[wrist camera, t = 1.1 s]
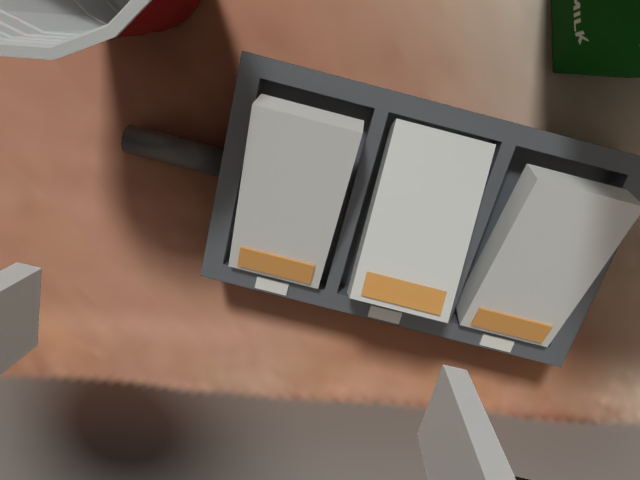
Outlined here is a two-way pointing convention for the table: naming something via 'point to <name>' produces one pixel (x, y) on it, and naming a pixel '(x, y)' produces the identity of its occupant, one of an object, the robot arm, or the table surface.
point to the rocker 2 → (420, 220)
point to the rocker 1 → (292, 189)
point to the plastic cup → (81, 23)
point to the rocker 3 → (544, 254)
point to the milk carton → (596, 37)
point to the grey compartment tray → (378, 115)
